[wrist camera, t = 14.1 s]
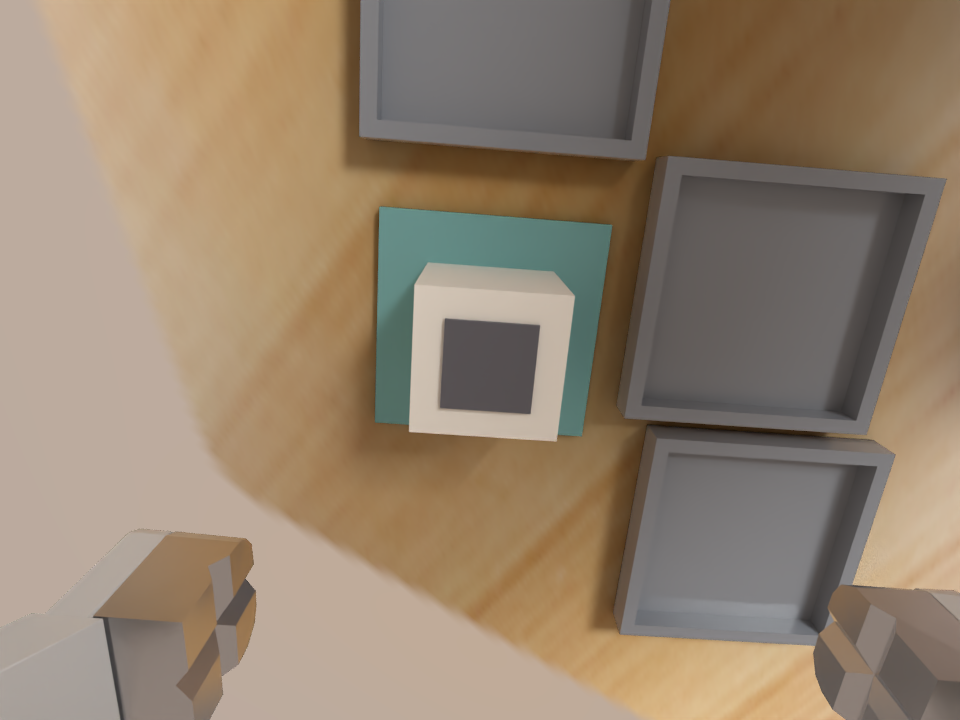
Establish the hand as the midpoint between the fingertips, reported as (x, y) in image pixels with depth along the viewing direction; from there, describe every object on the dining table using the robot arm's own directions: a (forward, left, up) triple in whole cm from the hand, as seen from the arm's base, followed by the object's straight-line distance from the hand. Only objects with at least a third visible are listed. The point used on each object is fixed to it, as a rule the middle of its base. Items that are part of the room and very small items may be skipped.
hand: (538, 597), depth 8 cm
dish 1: (0, -12, -16) cm, 20 cm away
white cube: (+1, 0, -16) cm, 16 cm away
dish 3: (-12, +9, -16) cm, 22 cm away
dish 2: (-11, -2, -16) cm, 19 cm away
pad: (0, 0, -16) cm, 16 cm away
